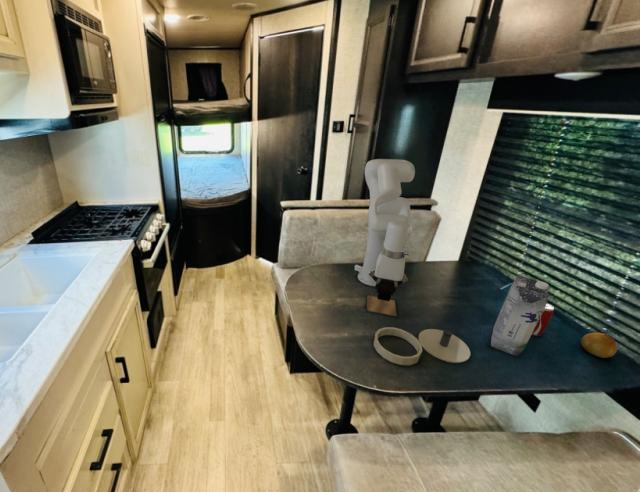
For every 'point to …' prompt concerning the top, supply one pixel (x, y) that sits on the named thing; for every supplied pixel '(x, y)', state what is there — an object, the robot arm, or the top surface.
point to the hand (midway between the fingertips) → (384, 291)
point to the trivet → (381, 306)
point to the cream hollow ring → (393, 357)
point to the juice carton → (519, 315)
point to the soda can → (543, 320)
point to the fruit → (599, 344)
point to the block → (385, 289)
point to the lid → (444, 345)
